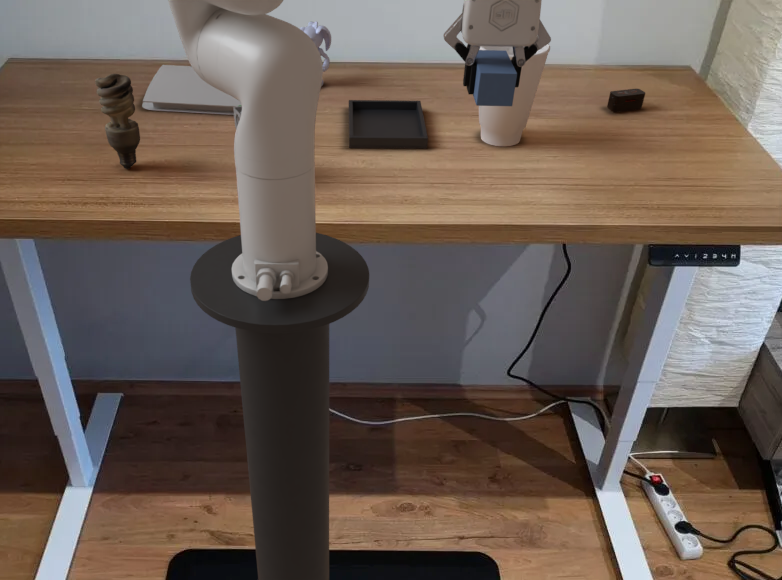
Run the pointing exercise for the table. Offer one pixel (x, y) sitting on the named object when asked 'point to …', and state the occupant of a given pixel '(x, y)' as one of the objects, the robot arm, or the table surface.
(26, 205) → the table surface
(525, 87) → the cup
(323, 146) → the table surface
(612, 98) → the wireless earbuds
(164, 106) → the book
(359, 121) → the black tray
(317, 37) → the toy figurine
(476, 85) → the rectangular block
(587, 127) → the table surface
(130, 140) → the light bulb
